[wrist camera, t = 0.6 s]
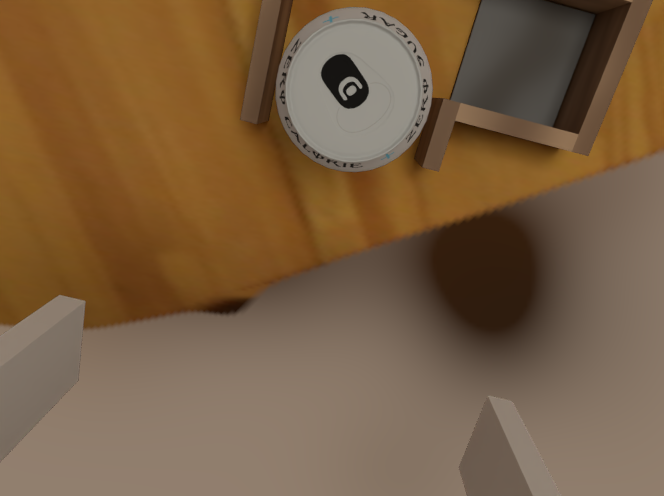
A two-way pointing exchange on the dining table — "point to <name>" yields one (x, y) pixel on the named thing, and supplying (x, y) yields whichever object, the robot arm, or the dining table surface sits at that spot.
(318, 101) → the energy drink can
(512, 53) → the trap lane
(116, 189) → the dining table surface
